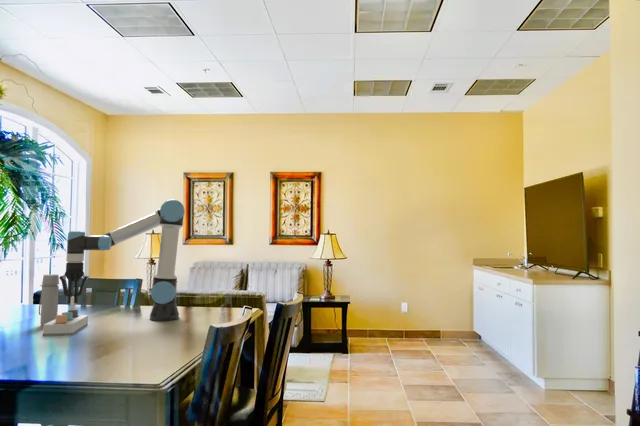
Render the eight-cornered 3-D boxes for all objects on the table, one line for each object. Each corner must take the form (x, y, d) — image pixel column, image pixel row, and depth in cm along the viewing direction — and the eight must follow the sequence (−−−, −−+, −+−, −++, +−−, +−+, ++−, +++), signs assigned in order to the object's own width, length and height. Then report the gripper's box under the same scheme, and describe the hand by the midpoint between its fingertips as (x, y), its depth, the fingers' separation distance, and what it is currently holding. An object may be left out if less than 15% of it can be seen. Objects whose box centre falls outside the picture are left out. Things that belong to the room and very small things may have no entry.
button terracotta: (67, 325, 199) (68, 314, 200) (64, 327, 195) (64, 316, 195) (57, 325, 198) (57, 314, 199) (53, 327, 194) (54, 316, 194)
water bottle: (60, 323, 219) (63, 274, 221) (49, 326, 211) (52, 275, 213) (44, 322, 220) (46, 274, 221) (32, 326, 212) (35, 275, 214)
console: (87, 325, 216) (88, 315, 216) (72, 335, 194) (72, 324, 195) (61, 325, 213) (61, 315, 214) (42, 336, 192) (43, 324, 192)
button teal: (73, 322, 207) (74, 311, 207) (70, 324, 202) (70, 313, 203) (63, 322, 206) (64, 312, 206) (60, 324, 202) (60, 313, 202)
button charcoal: (78, 319, 214) (79, 309, 214) (75, 321, 210) (76, 311, 210) (69, 320, 213) (69, 309, 213) (65, 321, 209) (66, 311, 209)
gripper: (91, 261, 218) (89, 308, 217) (63, 261, 215) (61, 308, 214) (86, 262, 211) (84, 311, 209) (57, 262, 208) (55, 311, 207)
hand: (72, 309), depth 212 cm, fingers closed
